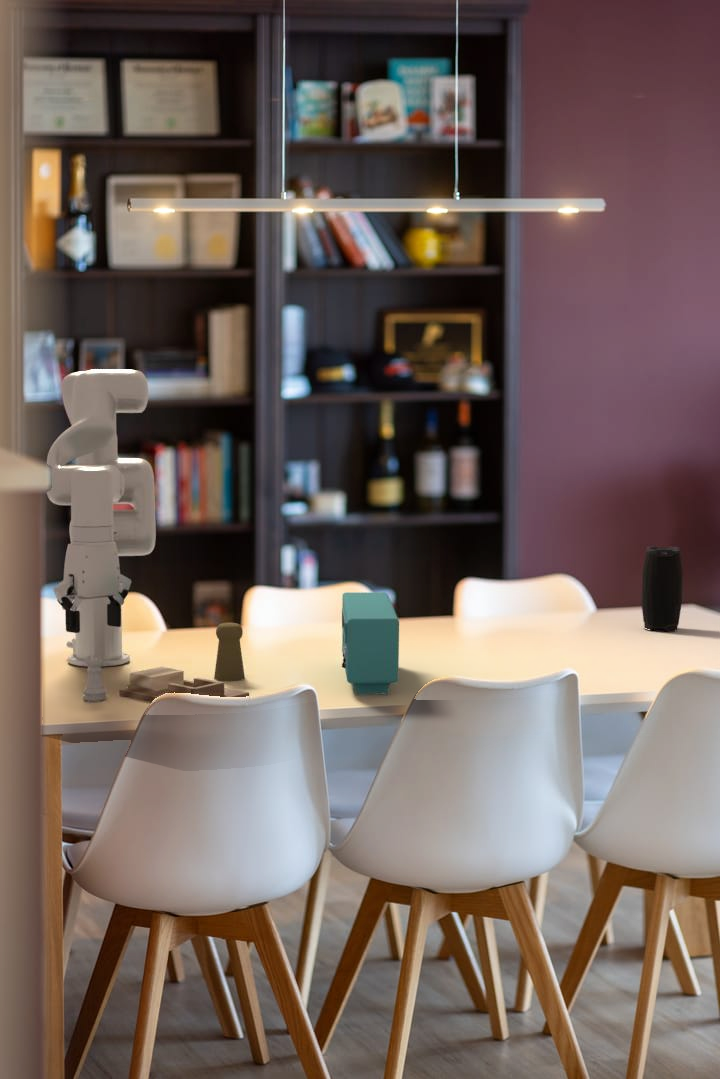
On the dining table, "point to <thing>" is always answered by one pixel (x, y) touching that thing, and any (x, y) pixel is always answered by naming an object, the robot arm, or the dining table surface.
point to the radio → (370, 642)
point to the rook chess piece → (94, 681)
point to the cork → (229, 653)
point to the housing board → (182, 690)
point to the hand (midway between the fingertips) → (93, 629)
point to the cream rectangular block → (157, 678)
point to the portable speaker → (662, 588)
